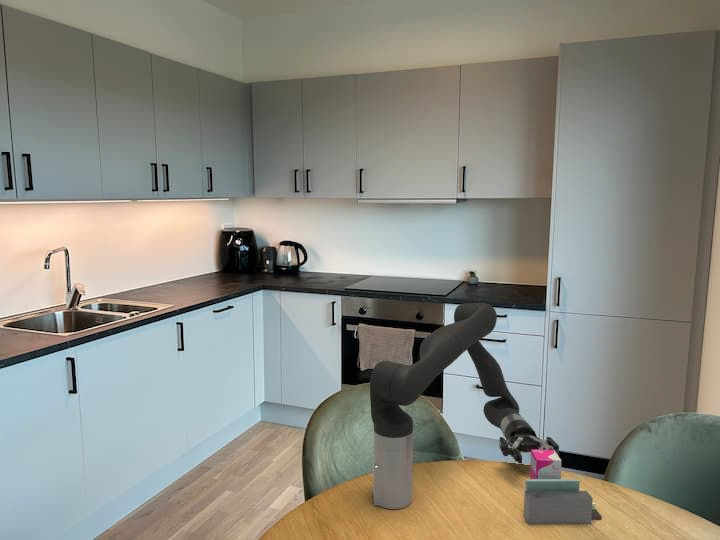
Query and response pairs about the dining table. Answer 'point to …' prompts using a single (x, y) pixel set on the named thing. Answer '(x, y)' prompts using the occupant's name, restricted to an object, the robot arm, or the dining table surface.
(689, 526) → the dining table surface
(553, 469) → the supplement box
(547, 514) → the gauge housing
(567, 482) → the gauge plate
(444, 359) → the robot arm
